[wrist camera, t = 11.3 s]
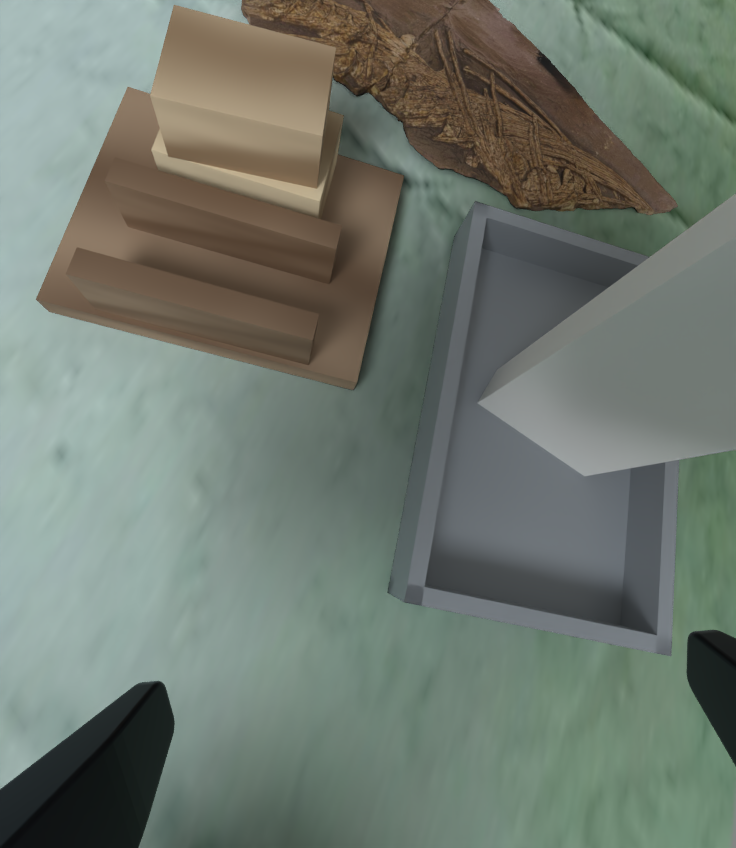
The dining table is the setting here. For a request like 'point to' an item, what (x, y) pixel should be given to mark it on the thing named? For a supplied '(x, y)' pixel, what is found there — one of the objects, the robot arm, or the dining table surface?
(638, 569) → the tray
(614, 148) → the wooden fragment
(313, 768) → the dining table surface
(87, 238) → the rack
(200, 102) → the offcut upper
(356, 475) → the dining table surface
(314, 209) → the offcut lower
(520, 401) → the sheet
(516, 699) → the dining table surface
